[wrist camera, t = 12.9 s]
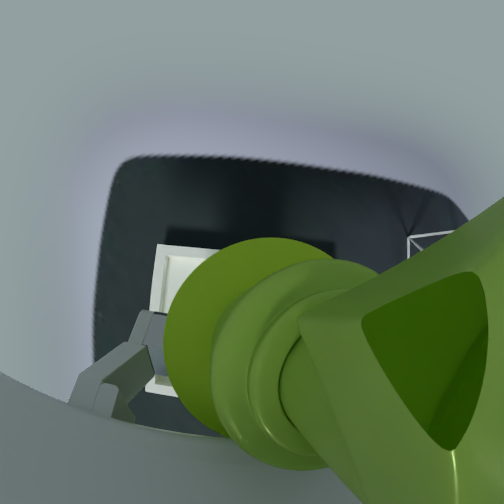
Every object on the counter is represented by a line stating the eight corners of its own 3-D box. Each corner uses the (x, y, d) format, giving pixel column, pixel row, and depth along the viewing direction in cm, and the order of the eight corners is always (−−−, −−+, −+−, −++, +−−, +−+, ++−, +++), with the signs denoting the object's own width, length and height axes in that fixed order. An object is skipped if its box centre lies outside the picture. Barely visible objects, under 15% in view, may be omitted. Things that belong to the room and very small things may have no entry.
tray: (333, 264, 24) (340, 260, 22) (323, 397, 21) (330, 402, 19) (162, 249, 23) (157, 244, 21) (151, 385, 20) (145, 391, 18)
